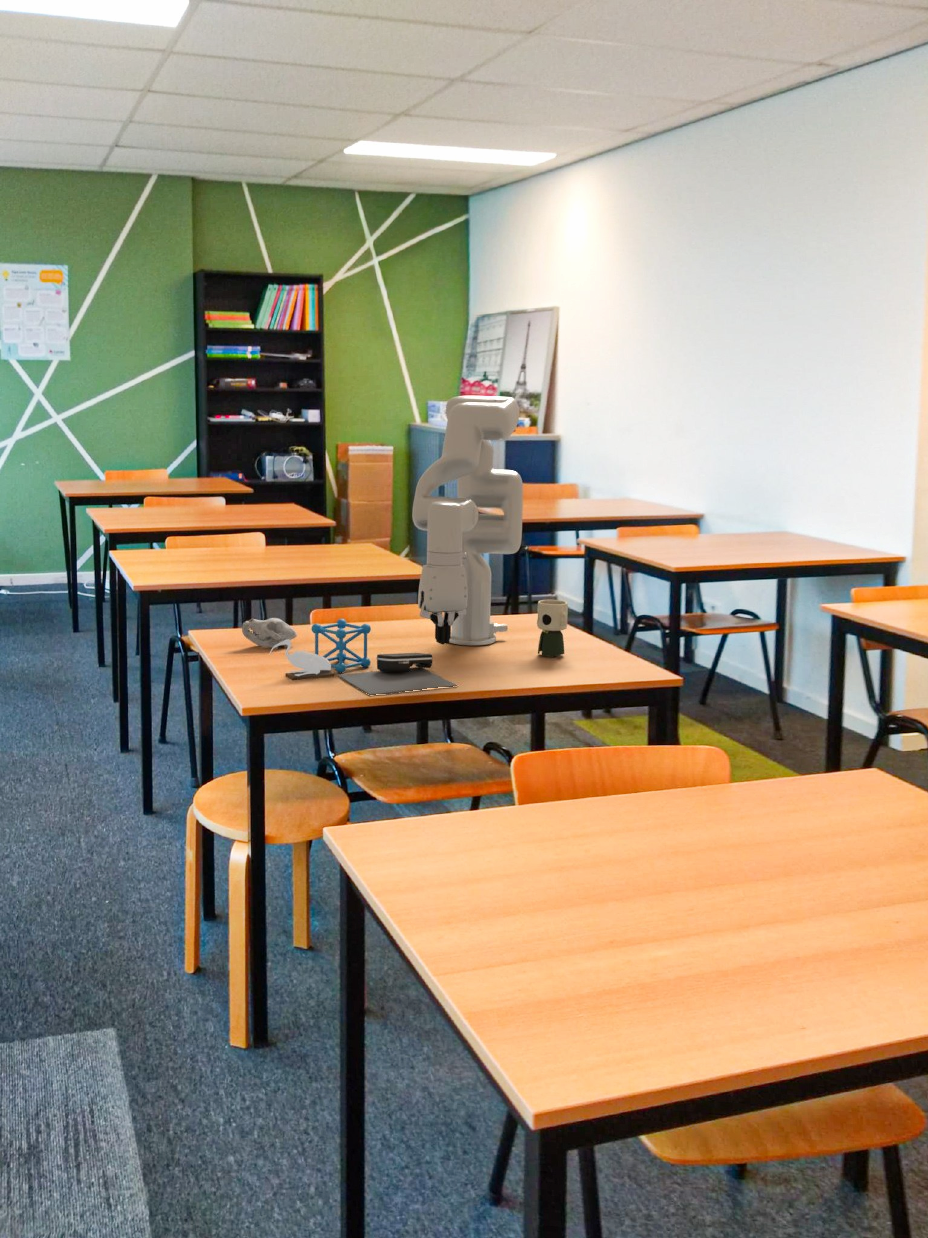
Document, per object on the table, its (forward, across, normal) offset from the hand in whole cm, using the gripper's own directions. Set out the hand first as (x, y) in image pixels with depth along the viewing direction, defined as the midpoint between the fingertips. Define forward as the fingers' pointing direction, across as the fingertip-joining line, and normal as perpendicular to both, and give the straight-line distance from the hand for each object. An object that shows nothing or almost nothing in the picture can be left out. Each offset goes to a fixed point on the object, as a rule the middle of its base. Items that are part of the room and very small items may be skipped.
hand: (442, 642), depth 272 cm
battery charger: (+6, 0, -7) cm, 9 cm away
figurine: (+8, +28, -12) cm, 32 cm away
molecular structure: (+8, +17, -17) cm, 25 cm away
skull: (+8, +24, -43) cm, 50 cm away
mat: (+8, +11, 0) cm, 13 cm away
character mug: (+8, -33, -9) cm, 35 cm away
